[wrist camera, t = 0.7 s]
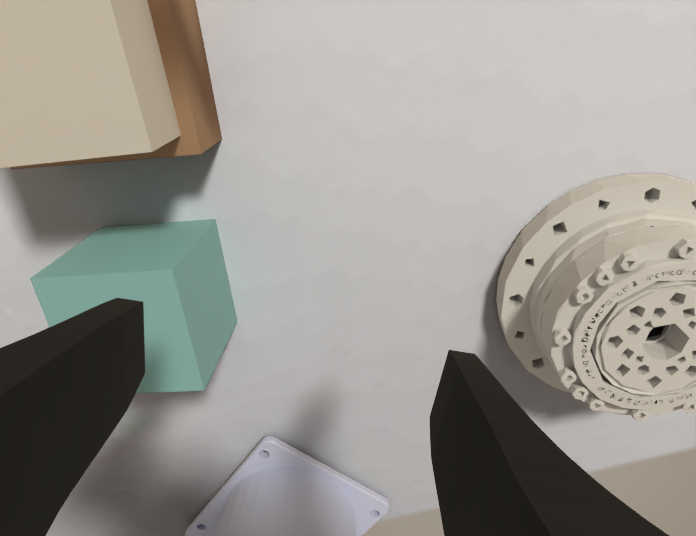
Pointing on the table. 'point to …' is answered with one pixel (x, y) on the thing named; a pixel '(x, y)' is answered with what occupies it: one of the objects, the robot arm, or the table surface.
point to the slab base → (178, 84)
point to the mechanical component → (608, 295)
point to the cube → (152, 294)
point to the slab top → (80, 81)
